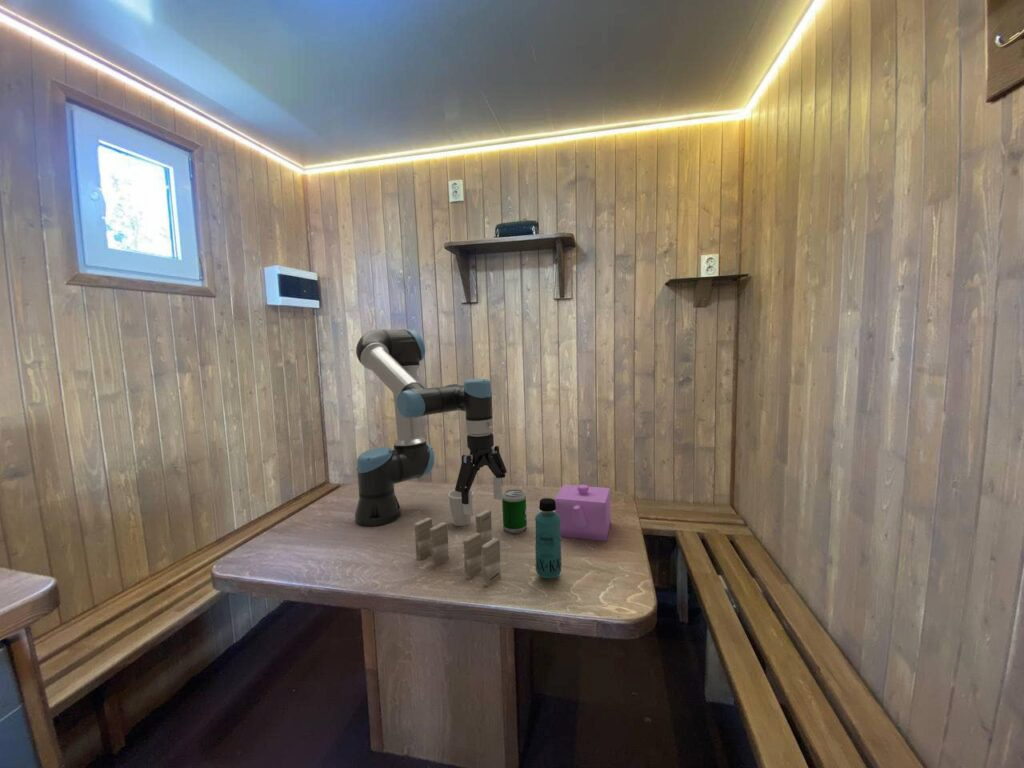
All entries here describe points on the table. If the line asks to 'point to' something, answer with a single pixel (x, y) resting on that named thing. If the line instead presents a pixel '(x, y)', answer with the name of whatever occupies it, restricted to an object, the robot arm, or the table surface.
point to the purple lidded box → (584, 512)
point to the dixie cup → (458, 509)
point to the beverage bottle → (548, 540)
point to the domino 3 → (472, 555)
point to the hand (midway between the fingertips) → (483, 506)
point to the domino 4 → (484, 526)
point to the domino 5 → (491, 562)
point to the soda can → (514, 511)
